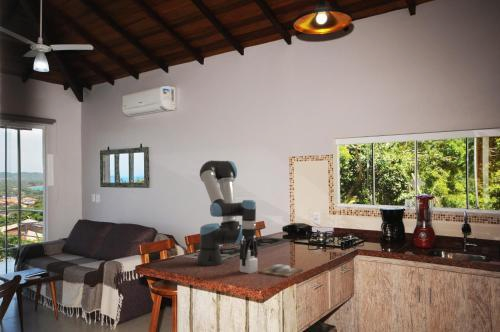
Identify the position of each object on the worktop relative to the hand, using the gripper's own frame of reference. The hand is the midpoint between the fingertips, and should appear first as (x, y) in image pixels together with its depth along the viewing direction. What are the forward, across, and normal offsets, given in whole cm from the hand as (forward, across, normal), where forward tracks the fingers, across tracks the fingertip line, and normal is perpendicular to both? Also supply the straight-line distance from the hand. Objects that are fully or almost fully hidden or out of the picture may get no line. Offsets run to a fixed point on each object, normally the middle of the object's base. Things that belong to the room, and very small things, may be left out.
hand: (248, 270), depth 200 cm
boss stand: (+1, +9, -15) cm, 18 cm away
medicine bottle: (+1, 0, 0) cm, 1 cm away
